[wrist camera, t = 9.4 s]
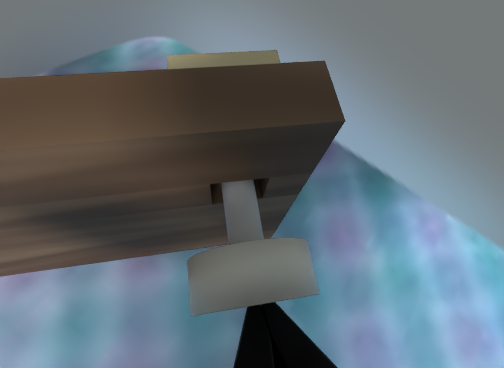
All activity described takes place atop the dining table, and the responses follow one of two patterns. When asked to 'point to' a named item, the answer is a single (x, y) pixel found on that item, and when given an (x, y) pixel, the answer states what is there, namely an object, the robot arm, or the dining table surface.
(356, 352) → the dining table surface
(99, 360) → the dining table surface
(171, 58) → the knob
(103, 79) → the knob mount
